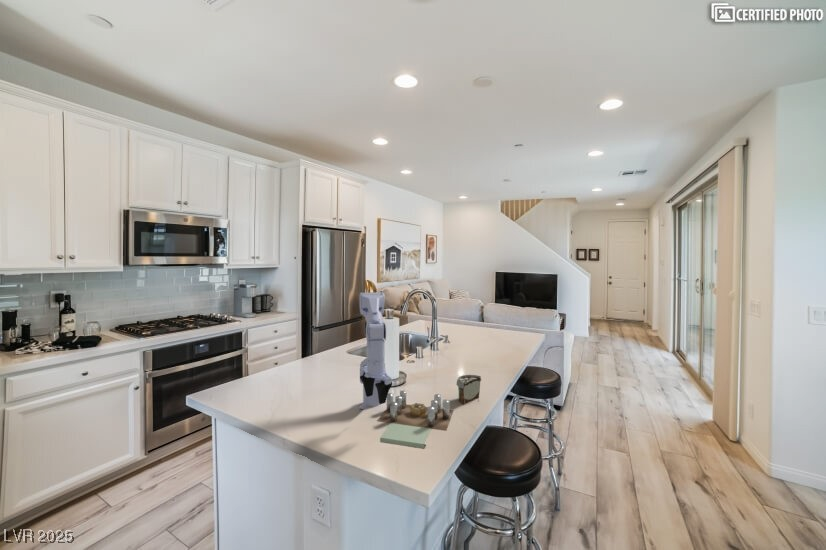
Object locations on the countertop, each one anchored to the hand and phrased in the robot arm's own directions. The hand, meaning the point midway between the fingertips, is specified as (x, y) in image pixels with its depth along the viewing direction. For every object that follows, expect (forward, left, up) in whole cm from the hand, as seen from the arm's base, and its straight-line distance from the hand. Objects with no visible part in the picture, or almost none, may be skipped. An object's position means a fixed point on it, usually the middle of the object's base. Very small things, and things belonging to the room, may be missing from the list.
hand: (375, 399), depth 118 cm
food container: (-30, +27, -10) cm, 41 cm away
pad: (+3, +12, -10) cm, 16 cm away
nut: (-12, +12, -8) cm, 18 cm away
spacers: (-10, +12, -8) cm, 17 cm away
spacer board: (-10, +12, -10) cm, 18 cm away
